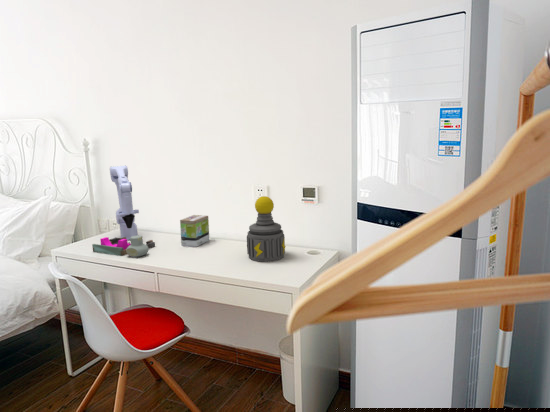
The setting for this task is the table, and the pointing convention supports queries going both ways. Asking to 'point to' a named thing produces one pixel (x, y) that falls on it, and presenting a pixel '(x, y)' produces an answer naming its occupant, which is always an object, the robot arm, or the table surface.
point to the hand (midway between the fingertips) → (129, 228)
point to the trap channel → (116, 250)
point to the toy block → (121, 243)
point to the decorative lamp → (265, 234)
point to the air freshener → (137, 247)
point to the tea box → (194, 230)
